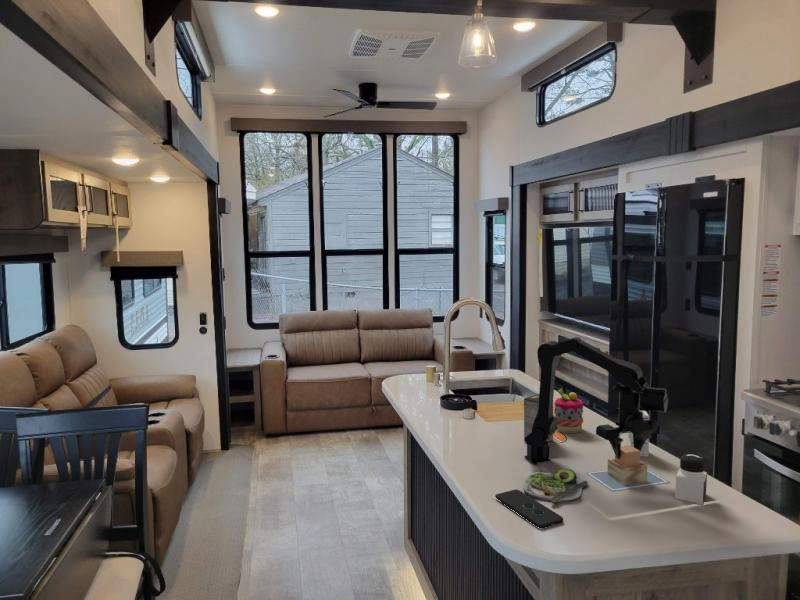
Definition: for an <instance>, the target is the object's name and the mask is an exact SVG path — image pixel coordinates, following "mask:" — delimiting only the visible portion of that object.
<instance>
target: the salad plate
mask: <svg viewBox="0 0 800 600" xmlns="http://www.w3.org/2000/svg"><path fill="white" fill-rule="evenodd" d="M588 484H589V482H588V481H587V480H583V481H582V480H581V479H579V478H577V474H576V473H575V471H573V470H572V469H569V468H560V469H558V470H556V471H555V472H554V473H549V472H539V471H538V472H537V471H536V472H532V473H529V474H527V476H526V477H525V480H524V483H523V486H522V490H523V491H524V493H525V494H526V495H527V494H528V496H529V497H531V498H533V499H534V498H535V499H537V500H541V499H542V500H541V501H549V502H551V503H560V502H567V501H573V500H577V499H578V498H580V497H581V495H582V489H583V488H584V487H585V486H586V485H588ZM532 487H534V488H537V489H540V490H542V491H543V494H537V493H536V492H534V491H533V489H532ZM531 489H532V490H531Z"/></svg>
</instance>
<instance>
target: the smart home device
mask: <svg viewBox="0 0 800 600" xmlns="http://www.w3.org/2000/svg"><path fill="white" fill-rule="evenodd" d="M494 497H496V498H497V499H498V500H500V501H501V502H502V503H503V504H505V505H506V506H508V507H509V508H510V509H512V510H514V511H515V512H517V513H518V514H519V515H521V516H522V517H524V518H525V519H527V520H528V521H529V522H531V523H532V524H534V525H535V526H537V527H539V528H544V529H546V528H545V527H547V528H550V527H554V526H556V525H560V524H564V517H563V516H562V515H560V514H559V513H557V512H555V511H554V510H553V509H550V508H549V507H547V506H545V505H544V504H542V503H541V502H539V501H537V500H536V499H534V497H532V496H530V495H529V494H528V495H527V493H525V492H523V491H522V490H520V489H512V490H508V491H504V492H500V493H496V494H495V496H494ZM502 503H501V504H502ZM503 504H502V505H503ZM506 506H505V507H506ZM509 508H508V509H509ZM510 509H509V510H510ZM512 510H511V511H512ZM515 512H514V513H515ZM518 514H517V515H518ZM519 515H518V516H519ZM521 516H520V517H521ZM522 517H521V518H522ZM524 518H523V519H524ZM525 519H524V520H525ZM528 521H527V522H528ZM529 522H528V523H529ZM531 523H530V524H531ZM532 524H531V525H532ZM534 525H533V526H534ZM553 525H554V526H553ZM535 526H534V527H535ZM549 526H550V527H549ZM537 527H536V528H537ZM539 528H538V529H539Z"/></svg>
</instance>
